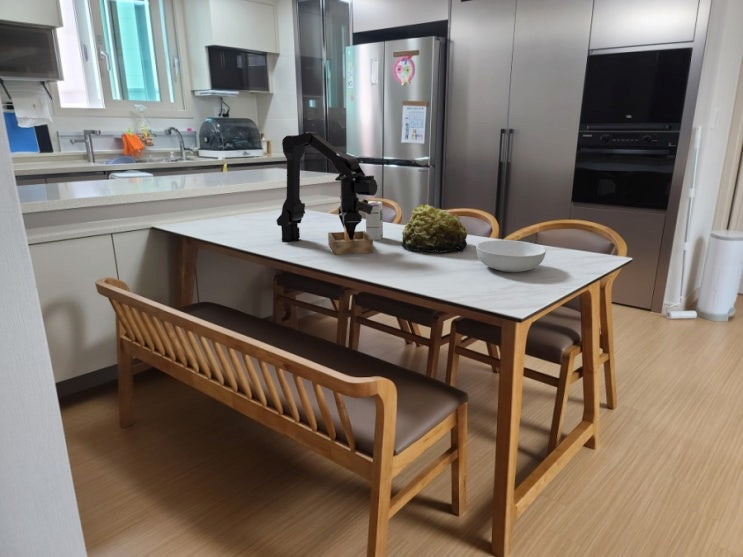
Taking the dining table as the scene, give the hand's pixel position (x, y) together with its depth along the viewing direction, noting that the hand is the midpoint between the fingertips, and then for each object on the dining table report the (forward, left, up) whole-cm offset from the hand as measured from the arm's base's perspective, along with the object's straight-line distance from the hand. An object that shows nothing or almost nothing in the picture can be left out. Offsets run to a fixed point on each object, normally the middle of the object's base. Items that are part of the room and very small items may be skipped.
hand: (349, 237), depth 186 cm
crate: (0, 0, -4) cm, 4 cm away
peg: (0, 0, -4) cm, 4 cm away
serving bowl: (+45, -37, -4) cm, 58 cm away
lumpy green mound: (+31, -4, -5) cm, 31 cm away
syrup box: (+12, +15, -4) cm, 20 cm away
